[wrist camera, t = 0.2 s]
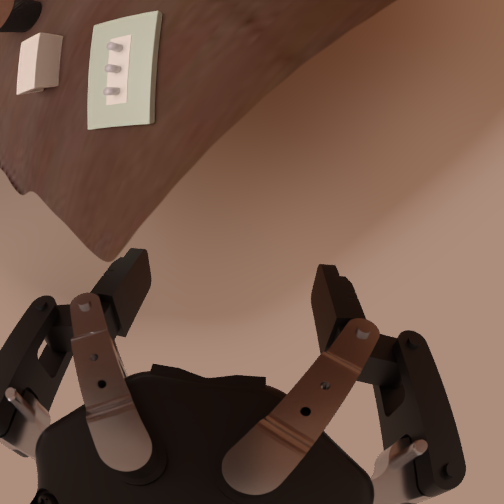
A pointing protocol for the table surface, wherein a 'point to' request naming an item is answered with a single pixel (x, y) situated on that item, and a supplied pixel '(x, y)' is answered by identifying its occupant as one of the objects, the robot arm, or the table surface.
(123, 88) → the board
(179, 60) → the table surface
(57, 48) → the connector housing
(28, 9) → the travel mug
